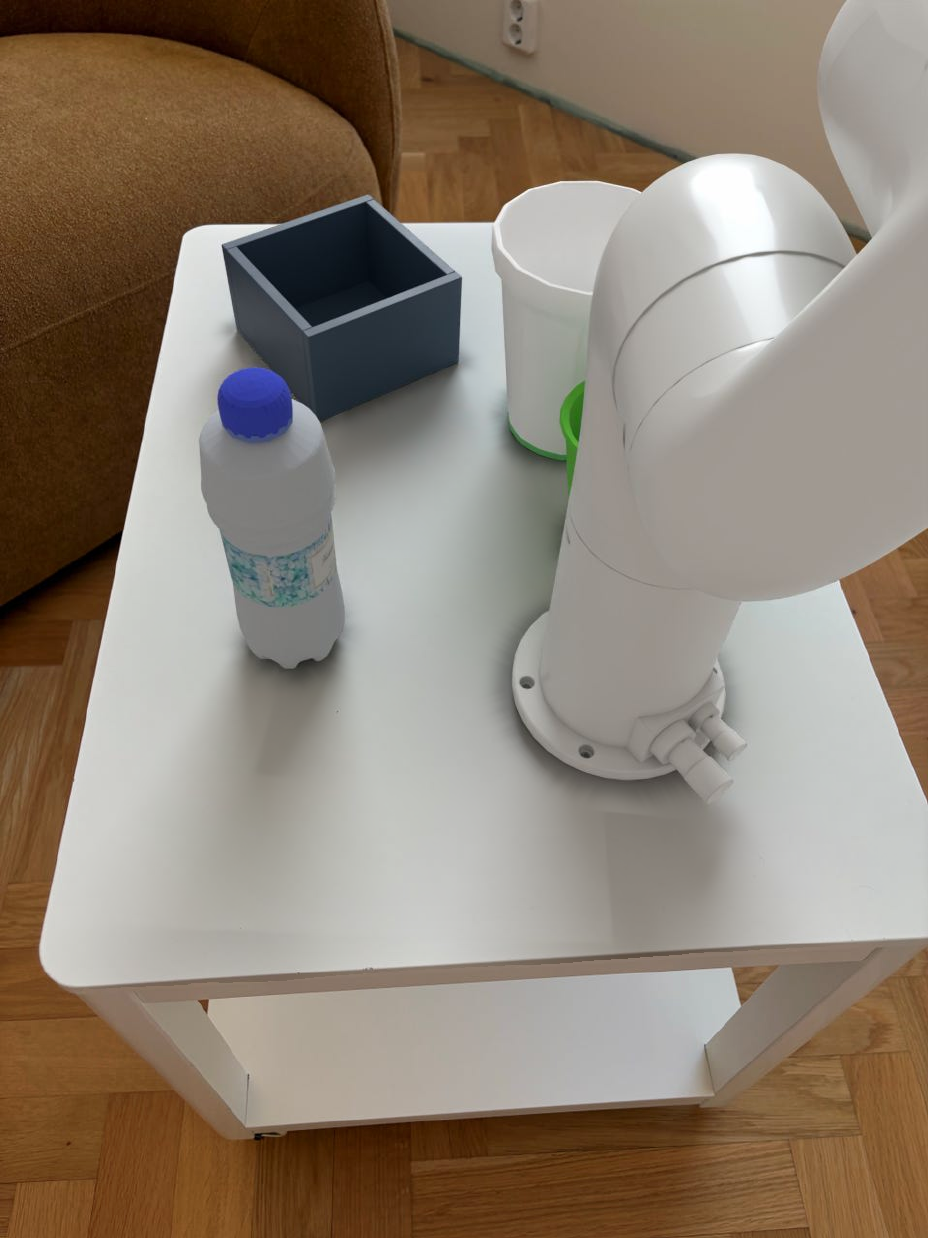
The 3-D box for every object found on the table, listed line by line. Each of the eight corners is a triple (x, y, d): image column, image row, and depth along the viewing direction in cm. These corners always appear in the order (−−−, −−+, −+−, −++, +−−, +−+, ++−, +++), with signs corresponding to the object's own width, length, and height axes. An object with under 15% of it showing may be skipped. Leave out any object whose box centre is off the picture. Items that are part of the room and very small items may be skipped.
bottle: (345, 683, 59) (317, 434, 43) (232, 679, 59) (162, 427, 43) (354, 594, 63) (333, 335, 47) (249, 590, 63) (190, 329, 47)
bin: (459, 362, 77) (462, 276, 71) (317, 422, 72) (308, 337, 66) (372, 279, 83) (368, 193, 77) (236, 330, 78) (220, 244, 72)
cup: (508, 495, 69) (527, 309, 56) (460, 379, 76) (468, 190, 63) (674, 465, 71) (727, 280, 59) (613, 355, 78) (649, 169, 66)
